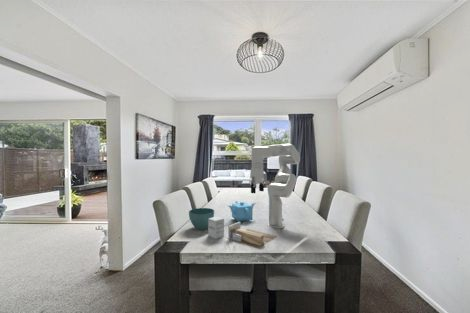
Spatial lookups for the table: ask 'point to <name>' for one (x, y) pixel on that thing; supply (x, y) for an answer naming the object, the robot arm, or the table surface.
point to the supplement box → (216, 227)
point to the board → (266, 239)
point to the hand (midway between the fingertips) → (257, 192)
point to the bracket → (232, 234)
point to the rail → (251, 236)
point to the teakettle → (242, 211)
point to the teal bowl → (201, 217)
